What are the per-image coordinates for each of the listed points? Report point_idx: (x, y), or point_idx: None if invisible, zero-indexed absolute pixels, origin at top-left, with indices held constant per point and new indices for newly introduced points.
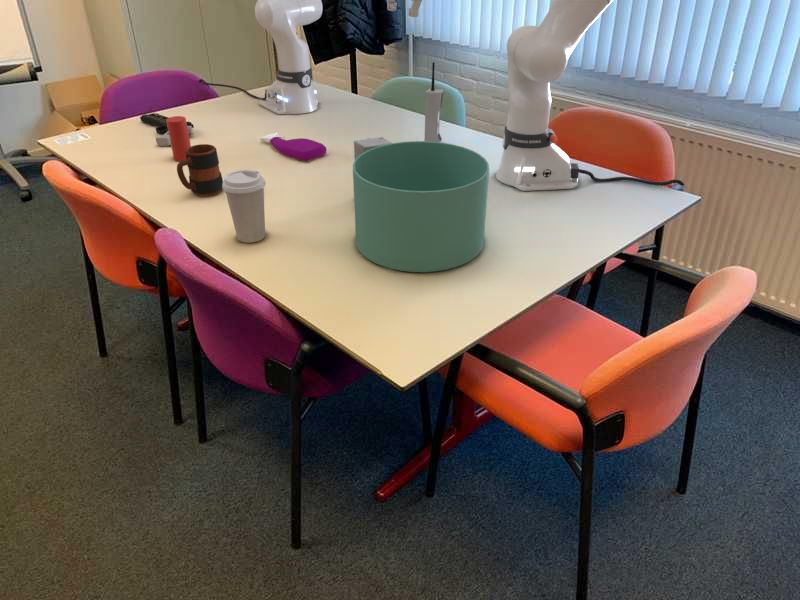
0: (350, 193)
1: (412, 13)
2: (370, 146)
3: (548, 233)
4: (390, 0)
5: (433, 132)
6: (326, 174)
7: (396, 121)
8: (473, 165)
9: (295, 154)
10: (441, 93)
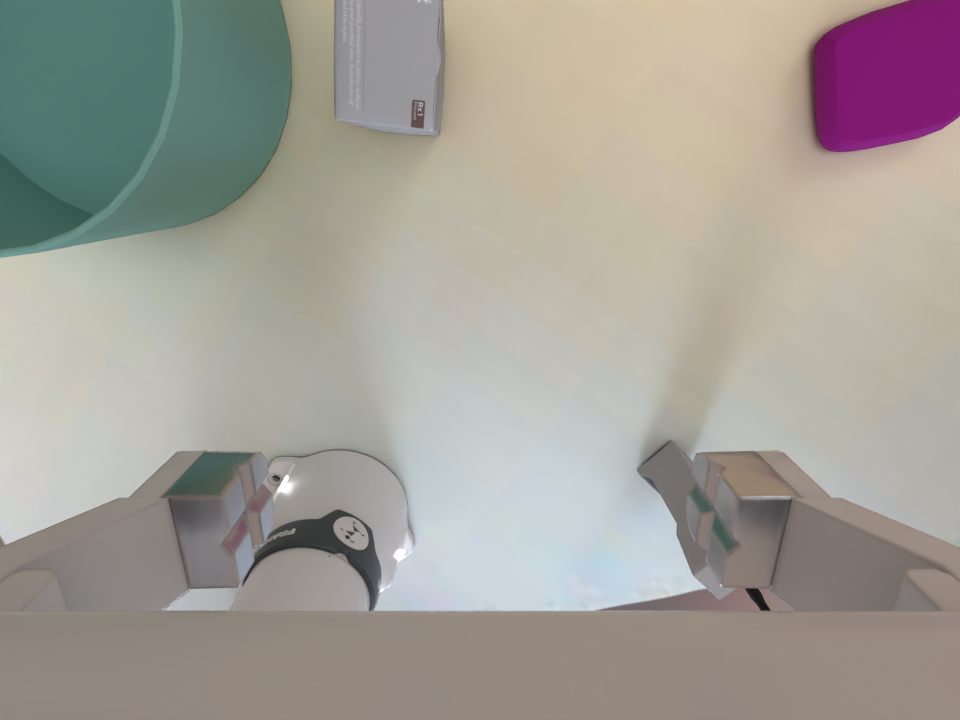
0: (498, 49)
1: (163, 470)
2: (336, 6)
3: (47, 359)
4: (815, 552)
5: (664, 477)
6: (676, 59)
7: (892, 486)
8: (10, 243)
9: (864, 16)
10: (692, 572)
